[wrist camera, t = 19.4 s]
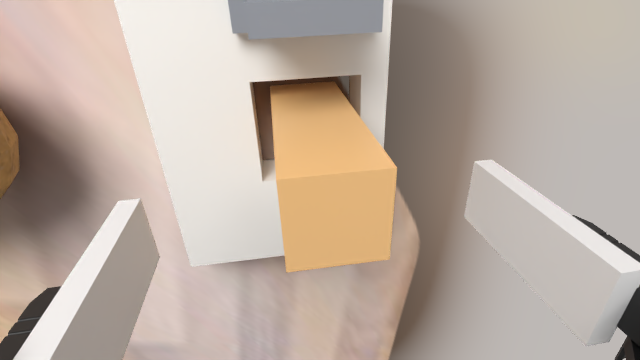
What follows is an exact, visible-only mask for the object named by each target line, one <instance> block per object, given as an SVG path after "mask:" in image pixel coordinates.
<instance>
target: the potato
mask: <svg viewBox="0 0 640 360" xmlns="http://www.w3.org/2000/svg"><path fill="white" fill-rule="evenodd" d="M19 169H20V168H19V146H18V135H17V133H16V132H15V130H14V129H13V127H12V126H11V124H10V122H9V121H8V119H7V118H6V116H5V115H4V113H3V112H2V110H1V108H0V199H1V197H2V196H3V195H4V193H5V192H6V190H7V189H8V187H9V186H10V185H11V183H12V181H13V180H14V178H15V176H16V174H17V173H18V171H19Z"/></svg>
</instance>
